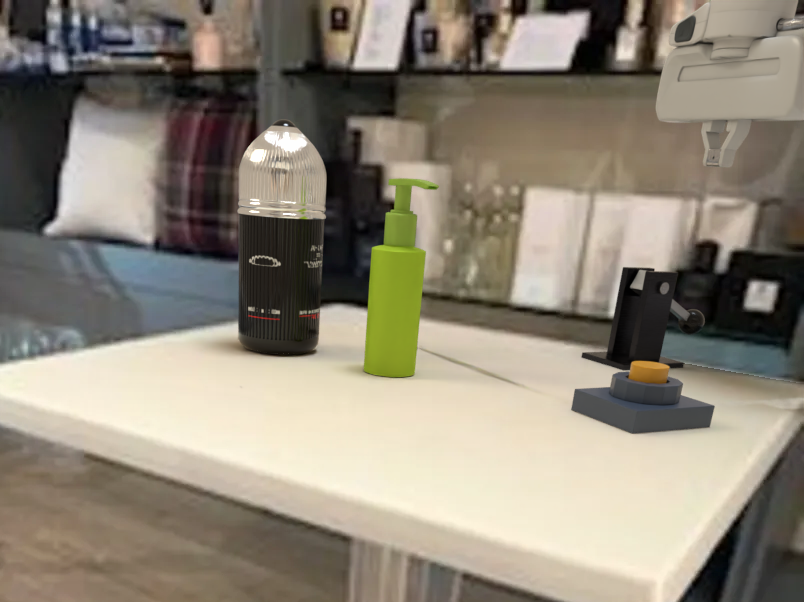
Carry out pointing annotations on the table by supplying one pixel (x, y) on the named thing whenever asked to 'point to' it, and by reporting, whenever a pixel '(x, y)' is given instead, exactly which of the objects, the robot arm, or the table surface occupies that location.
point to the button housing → (642, 406)
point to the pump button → (649, 372)
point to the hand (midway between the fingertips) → (716, 167)
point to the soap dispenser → (396, 289)
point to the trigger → (675, 309)
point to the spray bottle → (280, 242)
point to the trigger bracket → (639, 321)
